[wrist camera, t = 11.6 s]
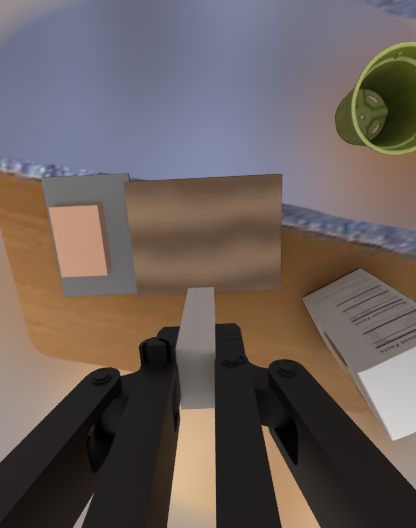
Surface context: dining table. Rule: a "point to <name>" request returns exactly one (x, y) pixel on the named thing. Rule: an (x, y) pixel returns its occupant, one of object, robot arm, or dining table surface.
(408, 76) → the plant pot
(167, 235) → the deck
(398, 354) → the supplement box
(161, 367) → the robot arm
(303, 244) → the dining table surface
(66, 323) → the dining table surface
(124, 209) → the mat
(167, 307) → the dining table surface
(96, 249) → the tile
